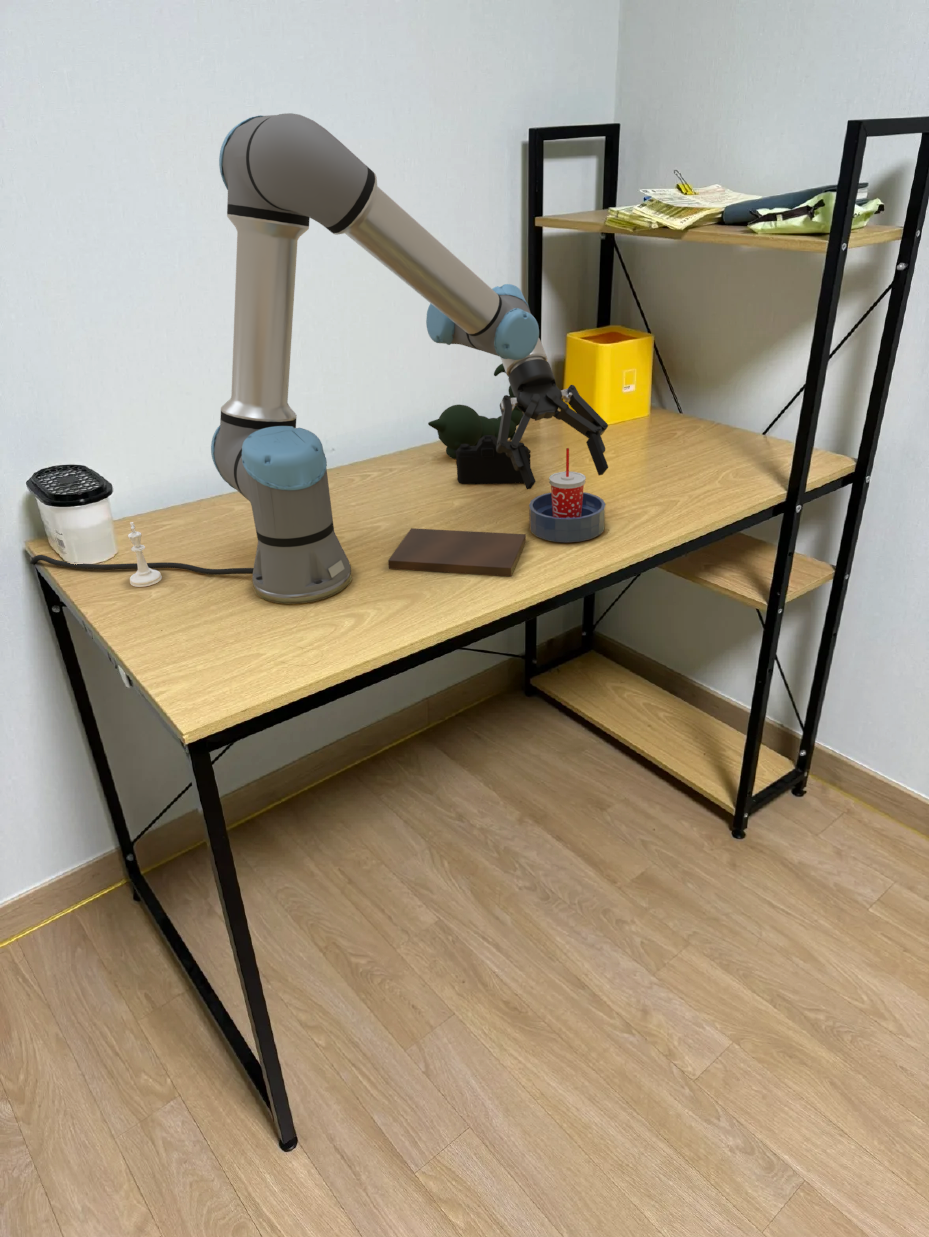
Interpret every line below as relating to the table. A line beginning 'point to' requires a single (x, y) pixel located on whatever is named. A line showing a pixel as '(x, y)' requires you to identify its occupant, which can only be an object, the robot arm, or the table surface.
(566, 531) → the bowl
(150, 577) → the chess piece
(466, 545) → the board
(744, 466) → the table surface
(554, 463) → the table surface
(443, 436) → the toy figurine
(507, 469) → the film camera
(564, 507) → the beverage cup
